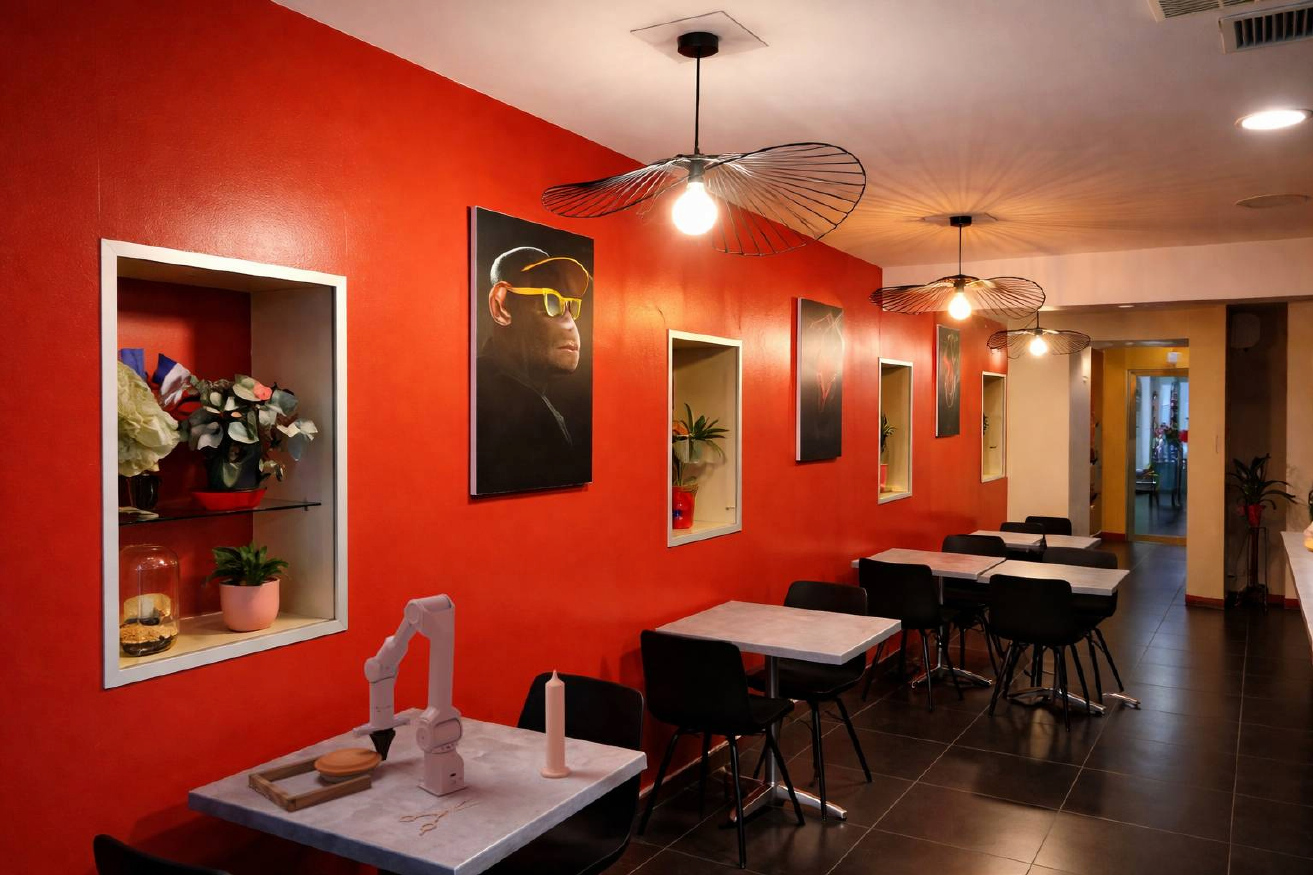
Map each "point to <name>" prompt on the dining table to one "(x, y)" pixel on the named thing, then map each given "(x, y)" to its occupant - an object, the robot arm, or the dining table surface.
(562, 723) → the candle
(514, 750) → the dining table surface
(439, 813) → the scissors
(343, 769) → the pie
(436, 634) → the robot arm
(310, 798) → the serving rack
